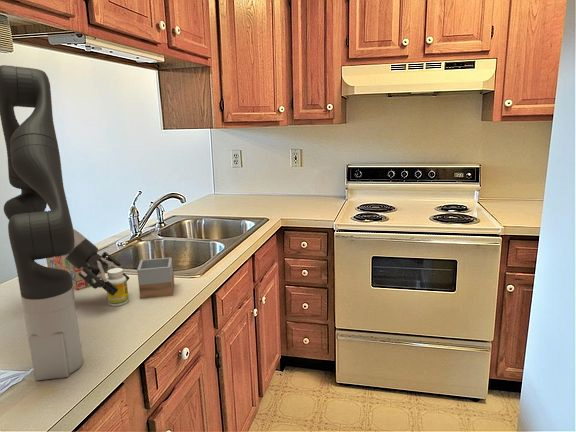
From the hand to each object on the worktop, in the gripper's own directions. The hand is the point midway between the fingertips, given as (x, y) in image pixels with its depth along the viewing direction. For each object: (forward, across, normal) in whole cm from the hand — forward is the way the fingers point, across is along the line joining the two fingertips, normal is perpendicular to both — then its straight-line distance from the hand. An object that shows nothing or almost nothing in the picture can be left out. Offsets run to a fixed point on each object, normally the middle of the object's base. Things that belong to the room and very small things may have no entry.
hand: (121, 286), depth 121 cm
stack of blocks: (-13, +18, +20) cm, 30 cm away
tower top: (+6, +7, -5) cm, 11 cm away
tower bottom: (+9, +8, -2) cm, 12 cm away
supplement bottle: (+3, 0, +4) cm, 5 cm away
